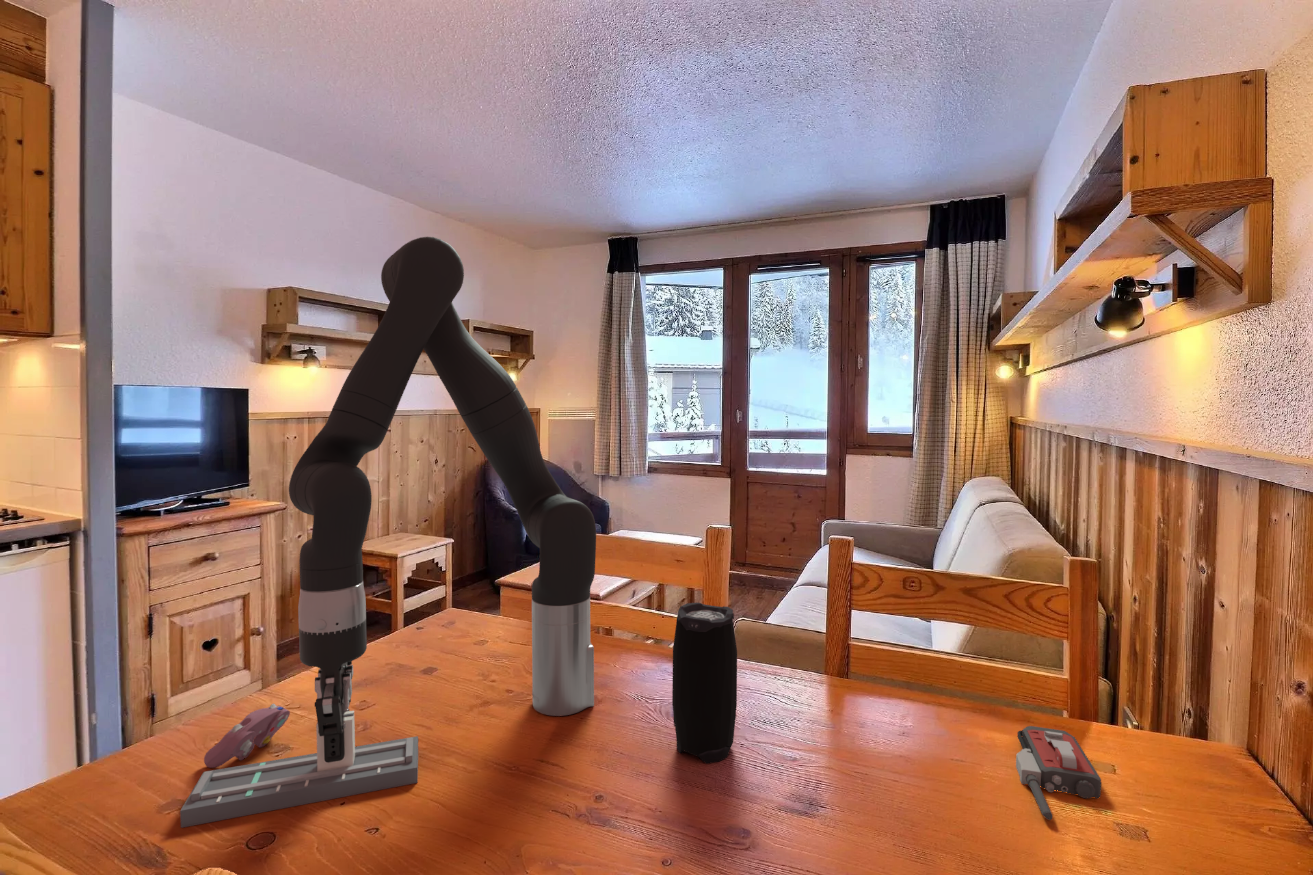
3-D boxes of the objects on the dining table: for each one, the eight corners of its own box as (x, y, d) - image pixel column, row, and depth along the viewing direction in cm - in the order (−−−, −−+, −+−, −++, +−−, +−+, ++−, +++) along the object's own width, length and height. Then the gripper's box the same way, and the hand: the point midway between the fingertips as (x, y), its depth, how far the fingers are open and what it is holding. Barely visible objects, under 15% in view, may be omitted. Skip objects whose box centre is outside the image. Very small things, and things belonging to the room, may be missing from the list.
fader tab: (355, 755, 82) (354, 709, 82) (353, 765, 80) (352, 718, 79) (320, 761, 80) (319, 714, 80) (317, 772, 78) (315, 723, 78)
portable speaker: (744, 739, 90) (746, 605, 89) (720, 773, 82) (722, 626, 81) (689, 725, 94) (690, 596, 93) (661, 756, 86) (662, 615, 85)
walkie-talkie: (1001, 738, 91) (1037, 826, 72) (1002, 709, 91) (1038, 789, 72) (1071, 749, 88) (1127, 843, 70) (1072, 718, 88) (1129, 805, 69)
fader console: (418, 750, 87) (417, 730, 87) (417, 782, 80) (417, 761, 80) (204, 787, 79) (203, 765, 78) (180, 827, 71) (180, 803, 71)
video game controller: (224, 784, 82) (243, 739, 81) (197, 765, 83) (215, 721, 82) (283, 744, 92) (300, 704, 91) (258, 727, 92) (276, 687, 91)
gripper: (360, 634, 74) (363, 778, 75) (370, 600, 87) (373, 722, 88) (287, 643, 71) (291, 791, 72) (309, 606, 84) (312, 731, 85)
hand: (336, 752), depth 80 cm, fingers closed on fader tab, 2 cm apart
